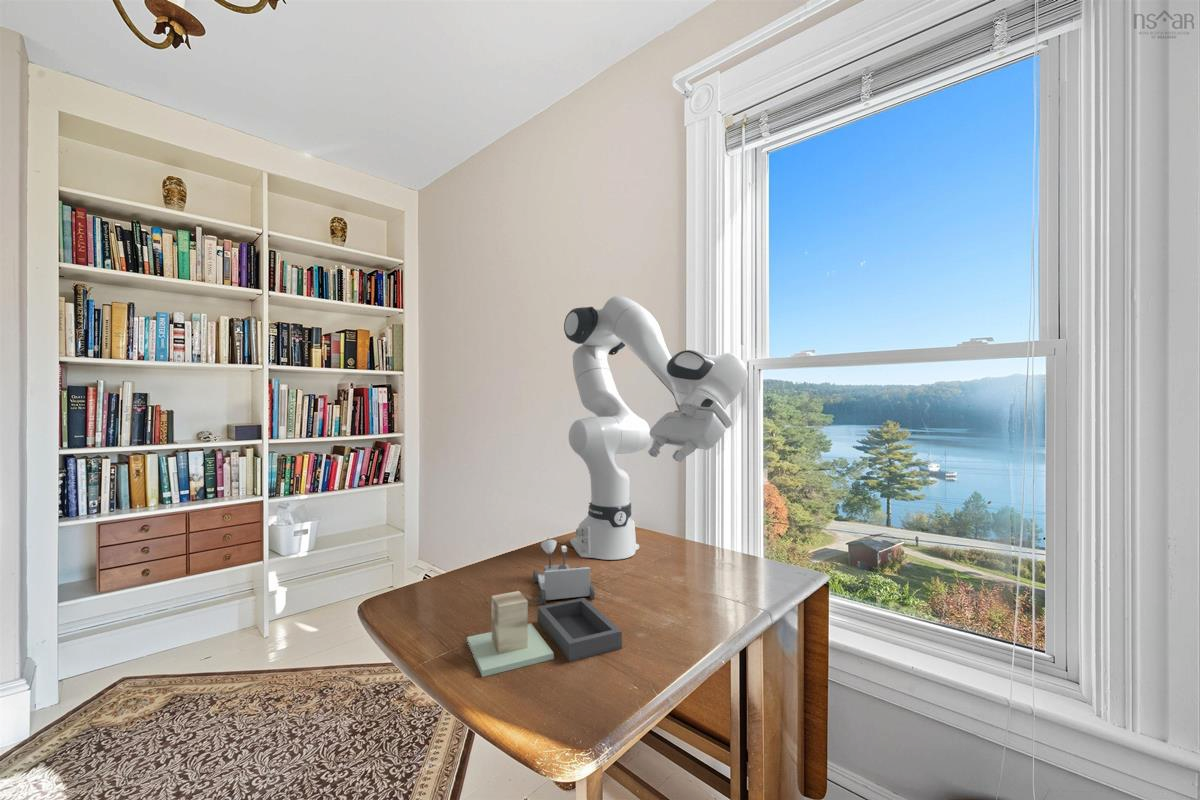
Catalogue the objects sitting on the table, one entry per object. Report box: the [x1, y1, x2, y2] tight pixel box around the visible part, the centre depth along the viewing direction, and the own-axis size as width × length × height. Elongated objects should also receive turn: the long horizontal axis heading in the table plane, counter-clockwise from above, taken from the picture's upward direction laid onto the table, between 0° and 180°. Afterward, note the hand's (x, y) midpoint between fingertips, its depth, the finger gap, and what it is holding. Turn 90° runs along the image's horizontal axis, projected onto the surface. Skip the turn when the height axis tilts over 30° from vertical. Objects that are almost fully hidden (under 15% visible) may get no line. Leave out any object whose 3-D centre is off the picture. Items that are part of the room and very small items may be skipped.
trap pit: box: [537, 597, 623, 663], centre depth 90 cm, size 16×10×3 cm, turn 27°
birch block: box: [491, 590, 529, 654], centre depth 84 cm, size 5×5×8 cm
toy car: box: [532, 538, 596, 606], centre depth 112 cm, size 18×10×12 cm
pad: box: [466, 622, 555, 678], centre depth 84 cm, size 12×12×1 cm
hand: (663, 457), depth 104 cm, fingers open, 8 cm apart
